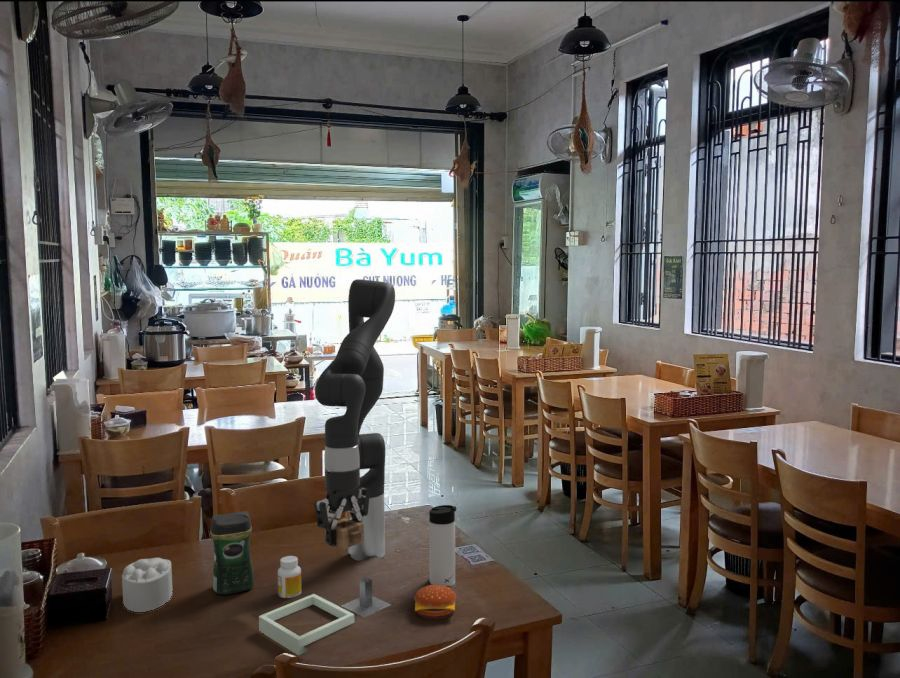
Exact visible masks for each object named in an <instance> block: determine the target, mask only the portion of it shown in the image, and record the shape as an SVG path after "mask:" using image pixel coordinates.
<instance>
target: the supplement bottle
mask: <svg viewBox="0 0 900 678" xmlns="http://www.w3.org/2000/svg"><path fill="white" fill-rule="evenodd" d="M279 564H280V567H278V569H277V595H278V596H279V597H280V598H284V599H291V598H296V597H298V596H300V595H301V594H302V568H301V567H300V566H299V558H298V556H295V555H287V556H283V557H281V558H280V560H279Z"/></svg>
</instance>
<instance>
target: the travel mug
mask: <svg viewBox="0 0 900 678" xmlns="http://www.w3.org/2000/svg"><path fill="white" fill-rule="evenodd" d="M456 511H457V506H454V505H450V504H442V505H437V506H434V507H432V508H431V509H430V510H429V514H428V516H429V519H428V532H429V533H428V540H429V541H428V545H429V546H428V547H429V548H428V551H429V552H428V553H429V554H428V555H429V560H428V561H429V562H428V563H429V566H428V567H429V572H428V573H429V576H428V577H429V583H430V585H443V586H446V587H451V588H455V587H456V518H455V516H456V515H455V513H456Z"/></svg>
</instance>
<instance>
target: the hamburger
mask: <svg viewBox="0 0 900 678" xmlns="http://www.w3.org/2000/svg"><path fill="white" fill-rule="evenodd" d="M451 588H452V587H451ZM451 588H450V586H443V585H433V584H428V585H426V586H423V587H420V588H419V589H418V590H417V591H416V593H415V594H414V596H413V599H414V601H415V603H414V612H416V614H417V615H418V616H419V617H422V618H424V619H428V620H434V621H435V620H443V619H447V618H449V617H451V616H452V615H453V614H454V613H455V611H456V607H457V605H456V603H457V602H456V601H457V600H456V599H457V594H456V593H455V591H454V590H453V589H451Z"/></svg>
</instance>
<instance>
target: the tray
mask: <svg viewBox="0 0 900 678" xmlns="http://www.w3.org/2000/svg"><path fill="white" fill-rule="evenodd" d="M312 605H314V606H316V607H317V608H319V609H321V610H323V611H325V612H327V613H329V614H331V615H332V616H334V617H336V618H337V619H335V620H333V621H330V622H328V623H325V624H323V625H322V626H319V627H317V628H314V629H313V630H310V631H308V632H306V633H304V634H301V635H298V634H296V633H295V632H293V631H292V630H289V629H288V628H287V627H284V626H283V625H281V624H280V623H278V622H276V621H277V620H279V619H281V618H284V617H286V616H289V615H291V614H294V613H296V612H298V611H301V610H303V609H306V608H308V607H310V606H312ZM355 622H356V621H355V613H354V612H352V611H350V610H348V609H346V608H344V607H342V606H341V607H340V606H339V605H337V604H335V603H333V602H331V601H329V600H327V599H325V598H324V597H321V596H319V595H317V594H315V593H312V594H310V595H307V596H304V597H302V598H299V599H298V600H295V601H293V602H291V603H288V604H286V605H283V606H280V607H278V608H275V609H273V610H271V611H268V612H266V613H263V614H261V615H259V616H258V631H259V632H260V631H261V632H260V633H262V634H263V633H264V634H263V635H265V636H267V637H268V638H270V639H271V640H272V641H274V642H276V643H277V644H279V645H281V646H283V647H284V648H286V649H287V650H289V651H290V652H292V653H294V654H296V655H297V656H301V655H303V654H305V653H307V652H309V651H311V650H310V649H309V648H307V647H305V646H308V645H309V644H311V643H314V642H316V641H318V640H320V639H323V638H325V637H327V636H329V635H331V634H333V633H335V632H337V631H340V630H341V629H344V628H346V627H348V626H351V625H353V624H355Z"/></svg>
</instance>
